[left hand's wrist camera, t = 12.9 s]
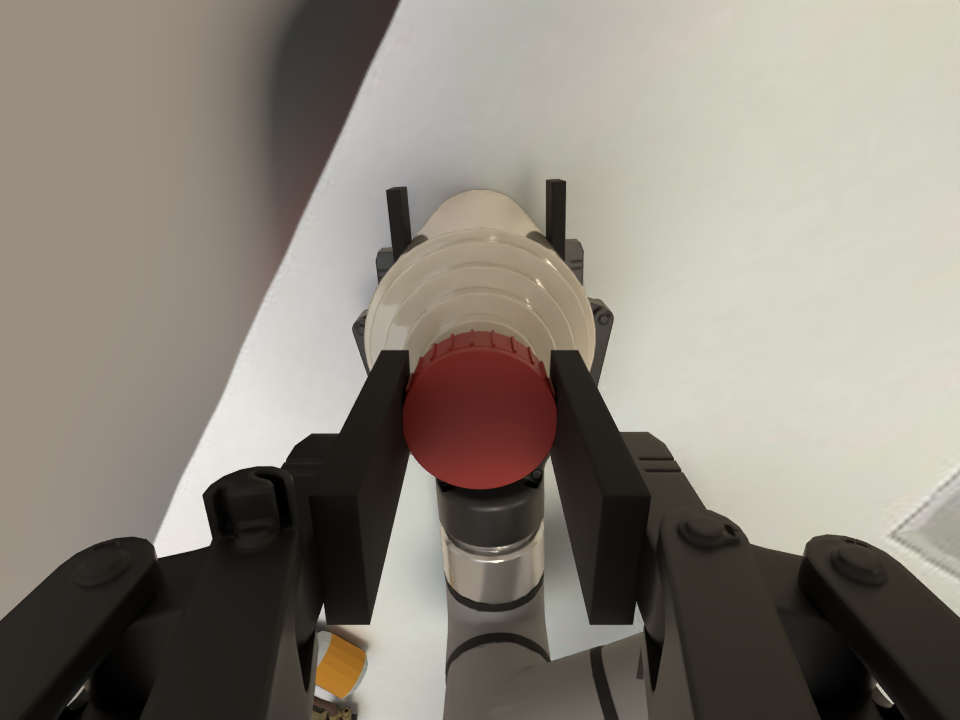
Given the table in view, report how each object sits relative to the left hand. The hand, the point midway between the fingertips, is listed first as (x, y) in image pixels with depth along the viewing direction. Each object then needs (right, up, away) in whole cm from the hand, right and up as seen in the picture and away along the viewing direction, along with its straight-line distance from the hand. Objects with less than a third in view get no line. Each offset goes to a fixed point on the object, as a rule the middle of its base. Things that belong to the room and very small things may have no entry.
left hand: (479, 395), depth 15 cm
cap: (0, 0, -1) cm, 1 cm away
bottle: (0, +9, +22) cm, 24 cm away
